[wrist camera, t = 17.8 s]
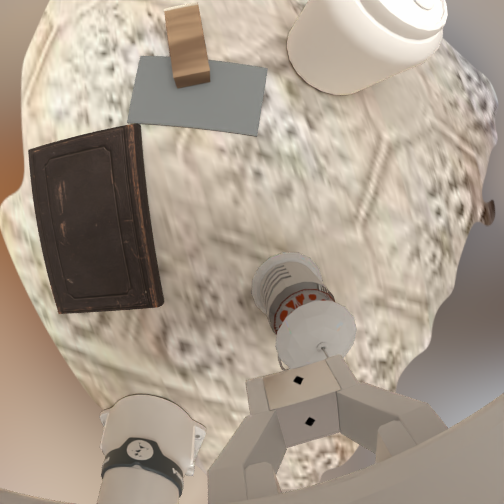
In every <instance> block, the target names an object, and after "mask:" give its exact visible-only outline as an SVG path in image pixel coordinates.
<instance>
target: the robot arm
mask: <svg viewBox="0 0 504 504" xmlns="http://www.w3.org/2000/svg"><path fill="white" fill-rule="evenodd" d="M246 390H247V396H248V403H249V409H250V416H246V417H245V418H244V420H243V421H242V423H241V424H240V426H239V427H238V429H237V430H236V432H235V433H234V435H233V436H232V437H231V439H230V440H229V442H228V443H227V445H226V446H225V447H224V449H223V450H222V452H221V453H220V454H219V456H218V457H217V459H216V460H215V461H214V463H213V464H212V465H211V467H210V468H209V470H208V504H504V393H503V394H502V395H500V396H499V397H497V398H496V399H495V400H493V401H492V402H490V403H489V404H487V405H486V406H484V407H483V408H481V409H480V410H478V411H477V412H475V413H474V414H472V415H470V416H469V417H467V418H466V419H464V420H462V421H461V422H459V423H457V424H456V425H454V426H452V427H450V428H449V429H448V427H447V426H446V425H445V424H444V423H443V421H442V420H441V419H440V418H439V416H438V415H437V414H436V412H435V411H434V410H433V409H432V408H431V406H430V405H429V404H428V403H425V402H421V401H419V400H415V399H412V398H409V397H406V396H403V395H400V394H397V393H394V392H391V391H388V390H385V389H382V388H379V387H376V386H374V385H371V384H368V383H365V382H363V383H360V384H359V382H358V380H357V379H356V377H355V376H354V374H353V373H352V371H351V370H350V368H349V366H348V365H347V363H346V362H345V360H344V359H343V357H342V356H341V355H340V354H337V355H334V356H331V357H328V358H325V359H324V360H321V361H318V362H314V363H311V364H308V365H304V366H301V367H298V368H294V369H290V370H286V371H282V372H278V373H273V374H269V375H265V376H262V377H257V378H253V379H248V380H246ZM100 420H101V422H102V425H103V427H104V430H103V434H102V439H101V443H100V449H101V450H102V452H103V454H104V455H105V460H104V462H103V465H102V474H101V476H102V479H103V480H102V484H101V488H100V492H99V496H98V500H97V504H179V497H180V496H181V494H182V490H183V484H184V483H183V482H184V481H183V478H184V476H185V475H187V476H193V474H194V469H195V468H194V467H195V466H194V465H195V461H194V460H195V458H196V456H197V453H198V451H199V449H200V446H201V444H202V442H203V440H204V437H205V435H206V428H205V427H204V426H203V425H201V424H199V423H197V422H195V421H194V420H192V419H191V418H190V417H189V415H188V414H187V413H186V412H185V411H184V410H183V409H182V408H180V407H179V406H177V405H176V404H174V403H172V402H170V401H168V400H166V399H163V398H160V397H156V396H151V395H132V396H128V397H125V398H123V399H121V400H119V401H118V402H117V403H116V404H115V405H114V406H113V407H112V408H110V409H107V410H104V411H102V412H101V413H100ZM339 432H341V434H343V435H344V436H346V437H348V438H349V439H351V440H353V441H354V442H356V443H358V444H359V445H361V446H363V447H365V448H366V449H368V450H370V451H371V452H373V453H375V454H376V460H375V464H374V465H371V466H369V467H366V468H364V469H361V470H358V471H356V472H353V473H350V474H347V475H345V476H341V477H338V478H335V479H332V480H329V481H326V482H322V483H319V484H315V485H312V486H308V487H305V488H301V489H297V490H293V491H289V492H285V493H282V491H281V488H280V485H279V483H278V480H277V478H276V474H277V471H278V469H279V467H280V464H281V462H282V460H283V457H284V455H285V452H286V450H287V448H288V447H292V446H295V445H298V444H302V443H305V442H308V441H311V440H315V439H318V438H322V437H325V436H329V435H332V434H335V433H339ZM0 504H74V503H67V502H61V501H55V500H49V499H44V498H39V497H34V496H30V495H25V494H21V493H17V492H13V491H10V490H6V489H2V488H0Z"/></svg>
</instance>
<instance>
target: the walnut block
mask: <svg viewBox="0 0 504 504" xmlns="http://www.w3.org/2000/svg"><path fill="white" fill-rule="evenodd" d="M164 12H165V20H166V28H167V36H168V43H169V51H170V58H171V65H172V71H173V78H174V81H175V83H176V86H177V89H178V88H182V87H187V86H192V85H197V84H202V83H208V82H210V68H209V63H208V57H207V51H206V46H205V40H204V35H203V29H202V23H201V18H200V12H199V6H198V2H197V3H191V4H186V5H180V6H175V7H170V8H166V9H164Z"/></svg>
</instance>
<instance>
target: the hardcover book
mask: <svg viewBox="0 0 504 504" xmlns="http://www.w3.org/2000/svg"><path fill="white" fill-rule="evenodd" d="M28 152H29V165H30V176H31V185H32V193H33V201H34V208H35V214H36V220H37V226H38V232H39V237H40V242H41V247H42V252H43V256H44V261H45V265H46V269H47V273H48V277H49V281H50V285H51V289H52V292H53V296H54V299H55V303H56V306H57V310H58V313H59V314H65V313H84V312H101V311H116V310H130V309H143V308H155V307H160V306H162V305H163V303H164V298H163V293H162V288H161V283H160V277H159V271H158V266H157V260H156V254H155V248H154V241H153V235H152V228H151V221H150V213H149V206H148V198H147V189H146V181H145V171H144V161H143V150H142V138H141V125H139V124H130V125H125V126H120V127H115V128H110V129H105V130H101V131H96V132H92V133H88V134H84V135H80V136H76V137H72V138H68V139H64V140H60V141H57V142H53V143H50V144H46V145H43V146H40V147H36V148H33V149H30V150H28Z"/></svg>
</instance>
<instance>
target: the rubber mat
mask: <svg viewBox="0 0 504 504" xmlns="http://www.w3.org/2000/svg"><path fill="white" fill-rule="evenodd" d="M208 63H209V68H210V82H208V83H202V84H197V85H192V86H187V87H182V88H178V89H177V86H176V83H175V81H174V78H173V71H172V65H171V58H170V57H161V56H141V57H140V61H139V65H138V70H137V74H136V79H135V84H134V88H133V93H132V99H131V104H130V110H129V115H128V121H127V123H137V124H153V125H166V126H178V127H188V128H198V129H206V130H215V131H223V132H230V133H237V134H244V135H251V136H257V133H258V126H259V120H260V114H261V107H262V101H263V95H264V88H265V82H266V76H267V70H268V68H262V67H256V66H250V65H244V64H237V63H230V62H222V61H214V60H208Z"/></svg>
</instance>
